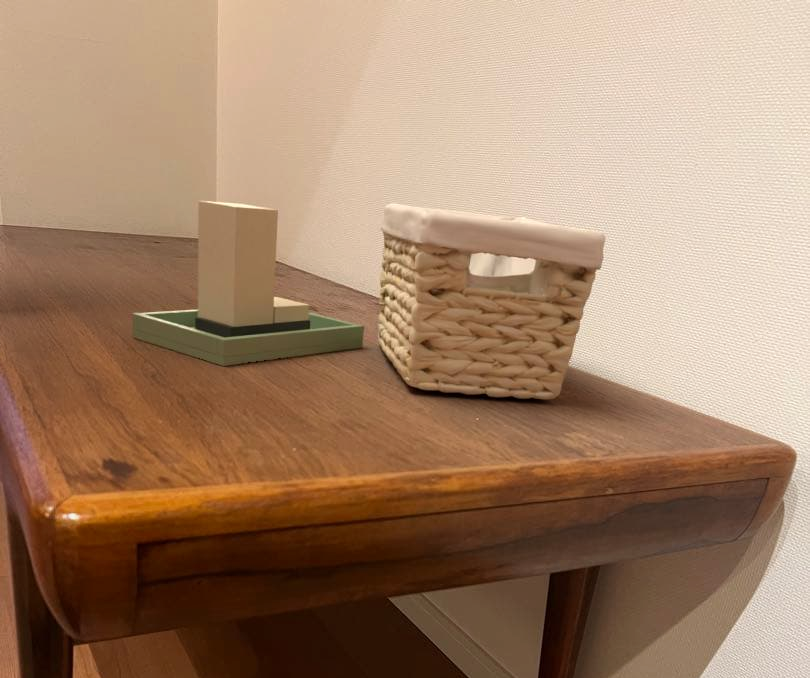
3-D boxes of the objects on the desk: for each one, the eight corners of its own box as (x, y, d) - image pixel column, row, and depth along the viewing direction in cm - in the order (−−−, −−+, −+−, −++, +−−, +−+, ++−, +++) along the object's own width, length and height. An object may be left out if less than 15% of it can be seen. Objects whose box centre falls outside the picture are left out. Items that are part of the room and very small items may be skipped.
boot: (230, 344, 73) (234, 206, 68) (194, 334, 76) (195, 200, 71) (309, 336, 82) (317, 212, 77) (275, 327, 84) (280, 206, 79)
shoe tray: (132, 337, 75) (132, 313, 74) (277, 325, 90) (278, 304, 89) (223, 366, 68) (224, 339, 67) (362, 347, 83) (364, 325, 82)
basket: (366, 340, 87) (380, 197, 81) (505, 353, 90) (528, 216, 84) (398, 397, 66) (419, 208, 60) (578, 410, 69) (616, 232, 63)
